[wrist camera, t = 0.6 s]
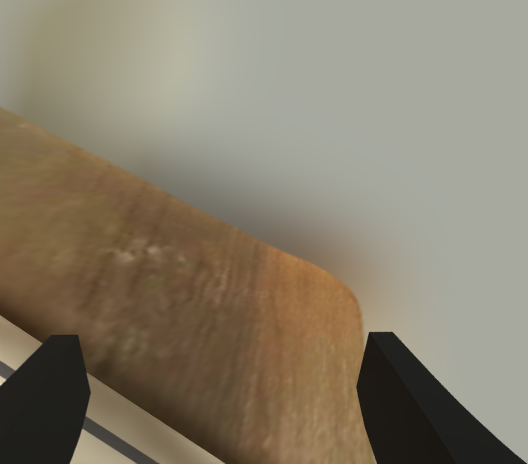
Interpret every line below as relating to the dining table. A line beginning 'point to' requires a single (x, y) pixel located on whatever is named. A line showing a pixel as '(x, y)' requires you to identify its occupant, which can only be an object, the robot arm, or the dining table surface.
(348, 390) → the dining table surface
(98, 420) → the pine board
